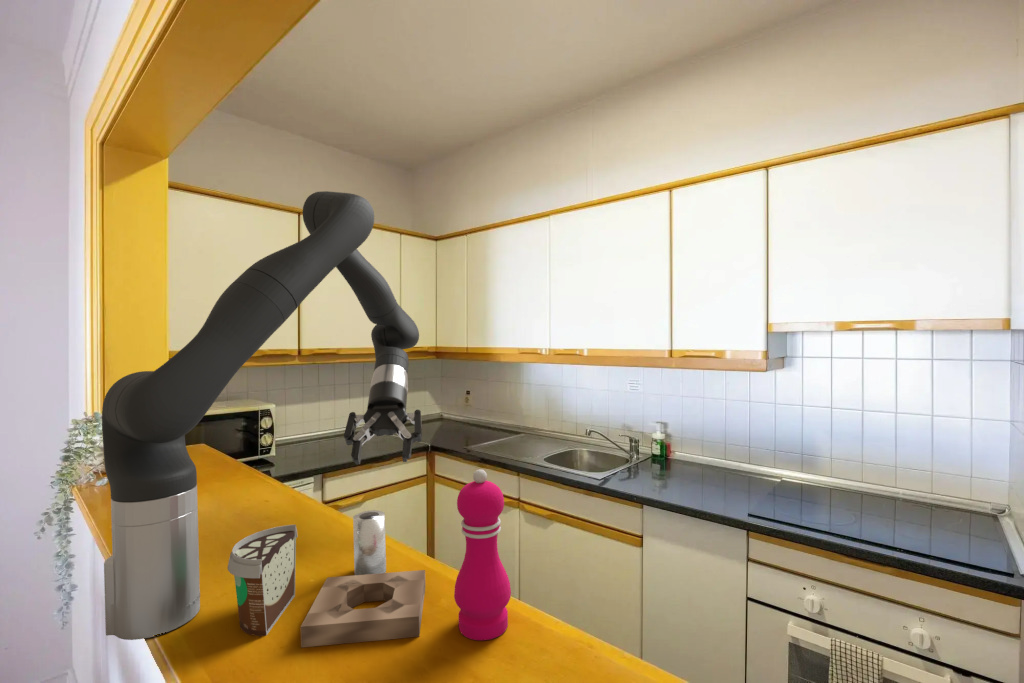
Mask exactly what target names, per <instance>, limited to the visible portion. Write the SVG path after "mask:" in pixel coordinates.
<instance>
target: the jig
mask: <svg viewBox="0 0 1024 683" xmlns="http://www.w3.org/2000/svg"><path fill="white" fill-rule="evenodd" d="M425 594H426V570H425V569H422V570H421V569H420V570H409V571H408V570H406V571H396V572H395V571H394V572H385V573H380V574H367V575H355V574H354V575H343V576H342V575H341V576H330V577H326V580H325V581H324V582H323V584H322V587H321V588H320V590H319V591H318V594H317V596H316V598H315V600H314V601H313V603H312V604H311V607H310V609H309V610H308V612H307V614H306V616H305V618H304V620H303V622H302V623H301V625H300V648H311V647H320V646H321V647H322V646H330V645H341V644H342V645H343V644H354V643H365V642H375V641H386V640H387V641H388V640H395V639H397V640H398V639H405V638H407V639H408V638H420V633H421V624H422V618H423V617H422V616H423V611H424V610H423V609H424V601H425V600H424V599H425ZM378 601H379V602H380V601H384V603H382V604H380V605H378V606H376V607H368V608H357V609H356V608H355V607H357V606H358V605H361V604H363V603H364V602H365V603H366V602H378ZM354 608H355V609H354Z"/></svg>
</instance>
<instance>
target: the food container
mask: <svg viewBox="0 0 1024 683" xmlns="http://www.w3.org/2000/svg"><path fill="white" fill-rule="evenodd" d="M297 538H298V529H297V525H296V524H288V525H287V524H286V525H280V526H275V527H271V528H268V529H267V528H266V529H264V530H261V531H257V532H254V533H253V534H249V535H248V536H245V537H244V538H242V539H241V540H239V541H238V542H236V543H235V544H234V546H233V547H232V550H231V552H230V555H229V559H228V564H227V570H228V572H229V573H230V574H231V575H233V576H234V584H235V594H236V602H237V610H238V611H237V612H238V619H239V620H238V621H239V628H240V630H241V631H243V632H244V633H245V634H248V635H251V636H259V637H262V636H267V635H268V634H269V633H270V631H271V630H272V629H273V627H274V626H275V624H276V623H277V622H278V620H279V619H280V617H281V616H282V615H283V613H284V612H285V611H286V609H287V608H288V607H289V605H290V604H291V602H292V601H293V599H294V598H295V597H296V559H297V558H296V556H297V555H296V554H297V551H296V550H297V548H296V547H297V542H296V541H297Z"/></svg>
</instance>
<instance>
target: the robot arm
mask: <svg viewBox="0 0 1024 683" xmlns="http://www.w3.org/2000/svg"><path fill="white" fill-rule="evenodd" d="M301 214H302V220H303V224H304V226H305V228H306V230H307V232H308V234H309V235H307V236H306V237H304V238H303V239H301V240H299V241H297V242H295V243H293V244H290V245H288V246H286V247H284V248H282V249H280V250H277V251H274V252H273V253H270V254H268V255H266V256H264V257H263V258H261V259H259V260H257V261H256V262H255V263H252V265H251V266H249V267H248V268H246V269H245V271H244V272H242V273H241V274H240V275H239V276H238V277H237V278H236V279H235V280H233V282H232V283H230V284H229V286H227V288H226V289H225V290H224V291H223V292H222V294H221V295H220V296H219V298H218V299H217V301H216V302H215V303H214V305H213V307H212V309H211V311H210V312H209V314H208V316H207V318H206V320H205V322H204V323H203V325H202V326H201V328H200V329H199V331H198V332H197V333H196V335H194V337H193V338H192V339H191V340H190V341H189V342H188V343H187V344H186V345H185V346H184V347H182V348H181V349H180V350H179V351H178V352H177V353H175V354H174V355H173V356H172V357H171V358H169V359H168V360H167V361H166V362H164V363H163V364H162V365H161V366H159V367H158V368H156V369H155V370H147V371H145V370H144V371H142V370H141V371H138V372H132V373H130V374H126V375H125V376H123V377H121V378H119V379H118V380H117V381H115V382H114V383H113V384H112V385H111V386H110V388H108V390H107V392H106V394H105V395H104V399H103V403H102V407H101V408H102V409H101V410H102V411H101V427H102V445H103V446H102V447H103V449H102V450H103V462H104V464H103V465H104V470H105V474H106V477H107V480H108V483H109V489H110V509H111V510H110V513H111V542H112V544H111V546H112V551H111V552H112V555H111V556H110V557H107V558H105V561H104V562H103V577H104V578H103V579H104V581H103V582H104V584H103V585H104V612H105V613H104V616H105V617H104V618H105V623H104V624H105V636H114V637H117V638H118V639H121V640H126V641H136V640H143V639H149V638H153V637H154V636H153V635H157V634H160V635H162V634H161V633H163V634H166V633H169V632H171V631H173V630H175V629H178V628H179V627H181V626H183V625H185V624H186V623H188V622H190V621H191V620H192V619H193V618H195V617H196V615H197V614H198V613H199V612H200V608H201V600H200V599H201V590H200V556H199V555H200V554H199V552H200V551H199V545H200V544H199V517H198V516H199V515H198V514H199V513H198V512H199V511H198V476H197V475H198V474H197V466H196V464H195V462H194V461H193V460H192V458H191V457H190V455H189V452H188V450H187V448H188V447H187V445H186V434H188V433H189V432H191V431H192V430H194V428H195V427H196V426H197V425H198V424H199V423H200V422H201V420H202V419H203V418H204V417H205V415H206V414H207V412H208V411H209V410H210V408H211V407H212V406H213V405H214V403H215V401H216V400H217V398H219V396H220V395H221V393H222V392H223V391H224V390H225V388H226V386H228V384H229V383H230V381H231V380H232V379H233V377H234V376H235V375H236V374H237V373H238V371H239V370H240V369H241V368H242V367H243V365H245V364H246V363H247V361H249V360H250V359H251V358H252V356H253V355H255V354H256V353H257V351H258V350H260V348H261V347H262V346H263V345H264V344H265V343H266V342H267V341H268V340H269V339H270V337H271V336H272V335H274V333H275V332H276V331H277V330H279V328H280V327H282V325H283V324H284V323H285V322H286V321H287V320H288V318H290V316H292V315H293V313H294V312H295V311H296V310H297V309H298V308H299V306H300V305H301V304H302V303H303V301H304V300H306V298H307V297H308V296H309V295H310V294H311V293H312V291H314V289H316V288H317V286H319V285H320V283H321V282H323V280H324V279H325V278H326V277H327V276H328V275H329V274H330V273H331V272H332V271H333V270H334V269H335V268H336V269H337V270H338V272H339V273H340V275H341V276H342V277H343V278H344V280H345V281H346V283H347V284H348V285H349V286H350V289H351V290H352V291H353V293H354V295H355V296H356V298H357V300H358V301H359V304H360V306H361V307H362V309H363V311H364V313H365V315H366V317H367V319H368V320H369V321H370V322H371V323H372V324H373V325H374V324H375V326H373V327H372V330H371V334H370V335H371V336H370V337H371V342H372V344H373V349H374V355H375V362H374V370H373V374H372V378H371V382H370V387H369V388H370V389H369V395H368V399H367V400H368V402H367V407H366V411H365V413H364V414H356V412H354V411H352V412H350V413H349V415H348V417H347V421H346V426H345V429H344V430H345V431H344V434H343V438H344V441H345V444H346V445H347V446H351V445H352V449H351V454H350V455H351V459H352V462H354V463H355V465H360V464H361V461H362V460H361V459H362V454H363V446H364V444H365V443H366V442H367V441H370V440H371V439H372V438H373V437H374V436H375V435H376V437H382V436H393V435H394V434H396V435H397V437H399V438H400V439H401V440H402V453H401V454H402V455H401V456H402V457H401V459H402V463H407V462H408V460H409V459H411V457H412V450H413V449H412V446H413V444H414V443H416V442H417V443H420V442H422V441H423V427H422V426H423V422H422V419H423V418H422V412H421V410H420V409H416V410H415V411H414V412H409V413H408V412H407V402H408V393H409V387H408V386H409V379H408V376H409V375H408V374H409V373H408V372H409V355H408V353H407V352H406V351H405V350H407V349H412V348H414V347H415V346H416V345H417V344H418V342H419V340H420V331H419V328H418V326H417V324H416V322H415V321H414V320H413V319H412V317H411V315H409V314H408V313H407V312H406V311H405V310H404V309H403V308H402V306H400V305H399V303H398V302H397V299H396V297H395V295H394V293H393V291H392V289H391V286H390V285H389V284H388V281H387V280H386V279H385V277H384V276H383V275H382V273H380V272H379V271H378V269H376V268H375V266H373V264H371V263H370V262H369V261H368V260H367V258H365V257H364V256H363V255H362V253H361V252H360V251H359V249H358V248H360V247H361V246H362V245H363V243H365V242H366V241H367V239H368V237H369V236H370V234H371V233H372V230H373V229H374V223H375V212H374V208H373V205H372V204H371V203H370V201H369V200H368V199H366V198H365V197H363V196H360V195H358V194H355V193H351V192H350V193H349V192H338V191H327V190H326V191H315V192H313V193H312V194H310V195H308V196H307V198H306V199H305V201H304V203H303V206H302V213H301ZM408 421H410V423H411V424H412V425H414V432H410V431H409V430H408V429H407V427H406V426H405V424H406V423H407V422H408ZM362 423H364V424H363V425H362V427H361V428H360V429H359V431H358V432H357V433H356V431H357V428H358V427H360V425H361V424H362ZM165 632H166V633H165ZM157 636H158V635H157Z"/></svg>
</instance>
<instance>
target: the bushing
mask: <svg viewBox="0 0 1024 683" xmlns="http://www.w3.org/2000/svg"><path fill="white" fill-rule="evenodd" d="M385 517H386V515H385V512H384V511H383V510H375V509H374V510H373V509H372V510H366V511H365V510H364V511H361V512H359V513H356V514H354V515H353V517H352V518H353V519H352V520H353V522H352V525H353V562H354V566H353V567H354V575H367V574H380V573H387V554H386V550H387V548H386V518H385Z"/></svg>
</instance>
